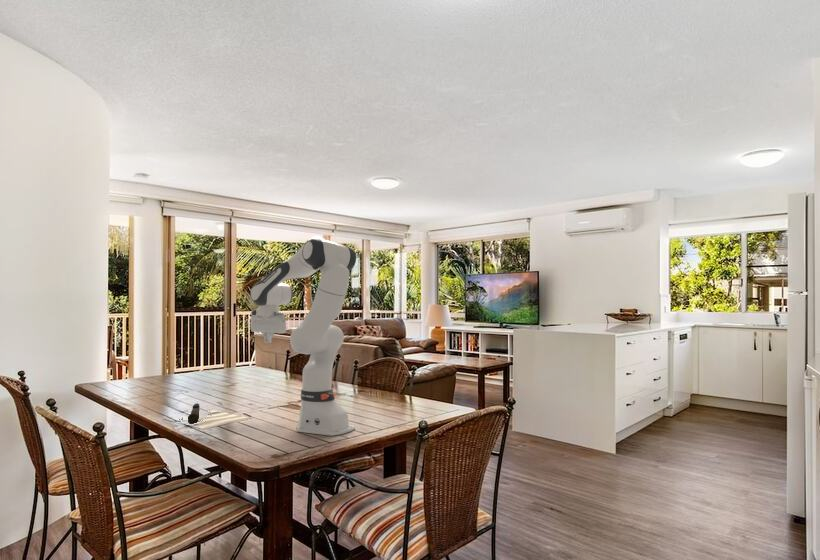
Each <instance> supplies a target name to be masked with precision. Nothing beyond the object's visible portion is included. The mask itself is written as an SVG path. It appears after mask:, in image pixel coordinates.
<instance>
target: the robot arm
mask: <svg viewBox="0 0 820 560" xmlns="http://www.w3.org/2000/svg"><path fill="white" fill-rule="evenodd" d="M356 263H357V253H356V251H355V250H354V249H353V247H349V246H347V245H343V244H341V243H338V242H335V241H332V240H327V239H325V238H324V237H322V236H313V237H311V238H309V239H308V240H306V242H305V243H304V244H303V245H302V246H301V247H300V248H299V249H298V251H297V252H296V253H295V254H293V255H292V256H291V257H289V258H287V259H286V260H285V261H283V262H281V263H279V264H278V265H276V266H275V268H273V269H272V270H271V271H270V272H269V273H267V275H266V276H264V277H261V279H260V280H259V281H257V282H256V283H254V285H252V287H251V289H250V291H249V292H250V293H249V295H250V300H252V302H253V303H254V304H255V305H256V306H258V308H255V309H253V310H251V311H250V315H251V317H250V331H251V332H252V333H262V337H263V343H265V344H267V343H268V344H271V343H272V342H273V341H272V340H273V338H274V335H275V334H285V333H286V332H287V321H286V316H285V314H284V313H283V312H282V311H281V312H279V311H280V306H285V305H289V304H290V303H291V302H292V300H293V297H294V291H293V289H292V288H293V287H291V285H289V284H288V283H284V281H286V280H293V279H300V278H302V279H304V278H308V277H310V276H312V275H313V274H315V273H316V272H317V271H318V270H319V271H320V272H321V276H320V280H319V282H318V286H317V288H316V292H315V295H314V298H313V302H312V305H311V308H310V309H309V310H308V313H307V314H306V316H305V317H304V319H303V320H302V322H301V323H300V325H298V326H297V327H296V328H295V329H293V331H292V332H291V334H290V337H289V343H290V347H291V349H292V350H293V351H294V352H295V353H298V354H302V355H310V356H309V358H308V359H309V360H308V361H307V363H306V364H305V365H304V367H303V368H302V377H301V378H302V379H301V381H302V384H301V385H302V386H301V387H302V388H301V389H300V400H301V404H300V410H299V418H298V421H297V422H298V423H297V426H296V432H297V433H298V432H299V433H306V434H314V435H315V434H316V435H323V436H328V437H329V436H333V437H334V436H339V435H344V434H346V433H347V434H348V433H350V432H352V431H354V430H355V429H356V426H355V425H353V424H350V422H349V414H348V412H347V410H346V409H344V408H343V407H342V405H340V403H338V402H337V401H336V397H335V396H337V392H335V391H333V388H332V380H333V367H334V362H335V360H336V359H335V358H336V356H337V354H338V350H339V349H340V348H341V346H342V345H343V343H344V339H345V335H344V332H343V330H342V329H341V327H339V326H337V325H335V324H334V325H333V324H332V323H333V322H334V321H335V320H336V319H337V318H338V317H339V316H340V314H341V312H342V310H343V306H344V303H345V299H346V296H347V292H348V287H349V282H350V271H352V270H353V269H354V267H355V266H356Z"/></svg>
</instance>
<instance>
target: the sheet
mask: <svg viewBox="0 0 820 560" xmlns="http://www.w3.org/2000/svg"><path fill="white" fill-rule="evenodd" d="M207 410H209V411H210V412H211V413H210V414H209V413H207V414H208V415H209V416H207V417H206V418H205V420H203V418H202V417H201V421H202V420H203V421H202V422H201V421H200V420H199V421H200V423H199V424H198V425H199V426H198V425H197V426H198V427H199V428H200V430H203V429H204V430H208V429H212V428H215V427H216V426H217V427H220V425H221V426H224V425H229V423H230V424H234V423H238V422H241V421H246V420H250V419H252V417H248V416H243V415H241V414H240V415H239V414H235V413H229V412H224V411H219V410H214V409H207ZM209 411H208V412H209ZM210 415H212V416H210ZM179 420H180V419H179ZM181 420H182V421H183V417H182V419H181ZM182 421H181V424H180V425H183V424H184V423H182ZM205 421H206V422H205ZM217 427H216V428H217ZM199 428H198V429H199ZM207 428H208V429H207Z"/></svg>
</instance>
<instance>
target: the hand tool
mask: <svg viewBox="0 0 820 560" xmlns="http://www.w3.org/2000/svg"><path fill="white" fill-rule="evenodd" d="M200 407H201V406H200V404H199V403H197V402H196V403H194V404H193V405H192V409H191V412H190V413H191V414H190V415H189V416H188V423H189V424H194V423H197V422H198V421H199V420H198V419H199V411H201V409H200Z"/></svg>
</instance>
